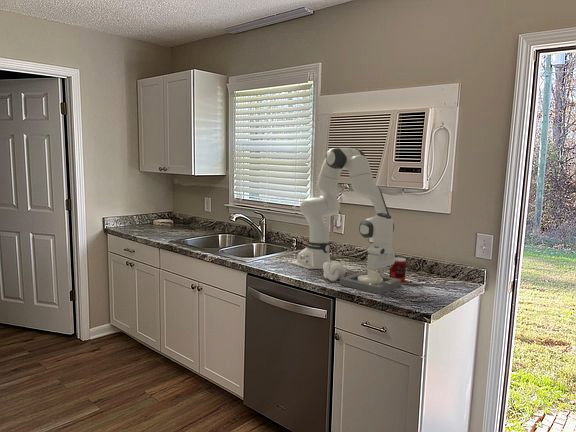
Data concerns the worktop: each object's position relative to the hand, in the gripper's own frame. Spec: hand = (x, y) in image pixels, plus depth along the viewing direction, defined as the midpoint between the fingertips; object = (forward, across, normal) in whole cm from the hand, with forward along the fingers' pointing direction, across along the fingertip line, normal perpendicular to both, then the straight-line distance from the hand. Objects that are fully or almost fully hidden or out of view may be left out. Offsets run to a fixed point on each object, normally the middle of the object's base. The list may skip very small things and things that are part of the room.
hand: (381, 276), depth 212 cm
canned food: (+6, -18, 0) cm, 18 cm away
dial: (+4, +1, -5) cm, 6 cm away
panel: (+5, 0, -6) cm, 8 cm away
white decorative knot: (+5, +6, -24) cm, 26 cm away
